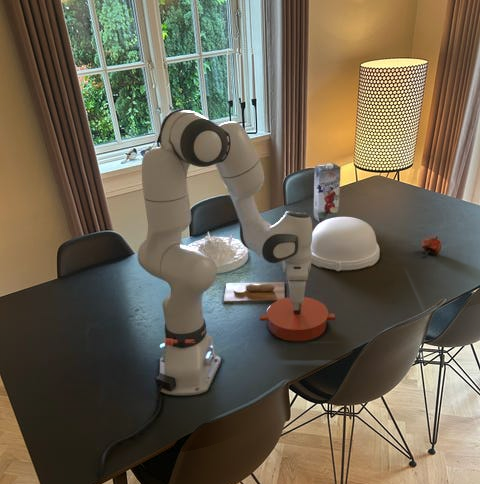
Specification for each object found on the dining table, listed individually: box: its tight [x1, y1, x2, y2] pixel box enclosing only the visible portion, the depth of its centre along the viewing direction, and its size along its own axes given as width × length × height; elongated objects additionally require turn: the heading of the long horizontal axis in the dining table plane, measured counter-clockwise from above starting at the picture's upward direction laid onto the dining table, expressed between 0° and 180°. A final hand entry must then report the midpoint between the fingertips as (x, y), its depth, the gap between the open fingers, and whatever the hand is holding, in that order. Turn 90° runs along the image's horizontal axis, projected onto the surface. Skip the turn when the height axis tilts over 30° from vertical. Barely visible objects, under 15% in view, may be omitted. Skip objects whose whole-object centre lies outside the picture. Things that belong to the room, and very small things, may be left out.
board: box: [223, 281, 286, 305], centre depth 184 cm, size 13×22×1 cm, turn 86°
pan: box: [259, 313, 336, 342], centre depth 164 cm, size 19×24×4 cm
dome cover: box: [311, 216, 381, 272], centre depth 203 cm, size 32×30×14 cm
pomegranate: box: [421, 236, 442, 257], centre depth 200 cm, size 7×7×10 cm
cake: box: [186, 231, 249, 274], centre depth 208 cm, size 28×28×10 cm
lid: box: [266, 296, 329, 331], centre depth 162 cm, size 20×20×4 cm
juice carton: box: [313, 162, 342, 224], centre depth 230 cm, size 9×10×27 cm
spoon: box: [234, 284, 275, 295], centre depth 183 cm, size 15×5×3 cm, turn 86°
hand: (295, 301), depth 160 cm, fingers open, 8 cm apart
